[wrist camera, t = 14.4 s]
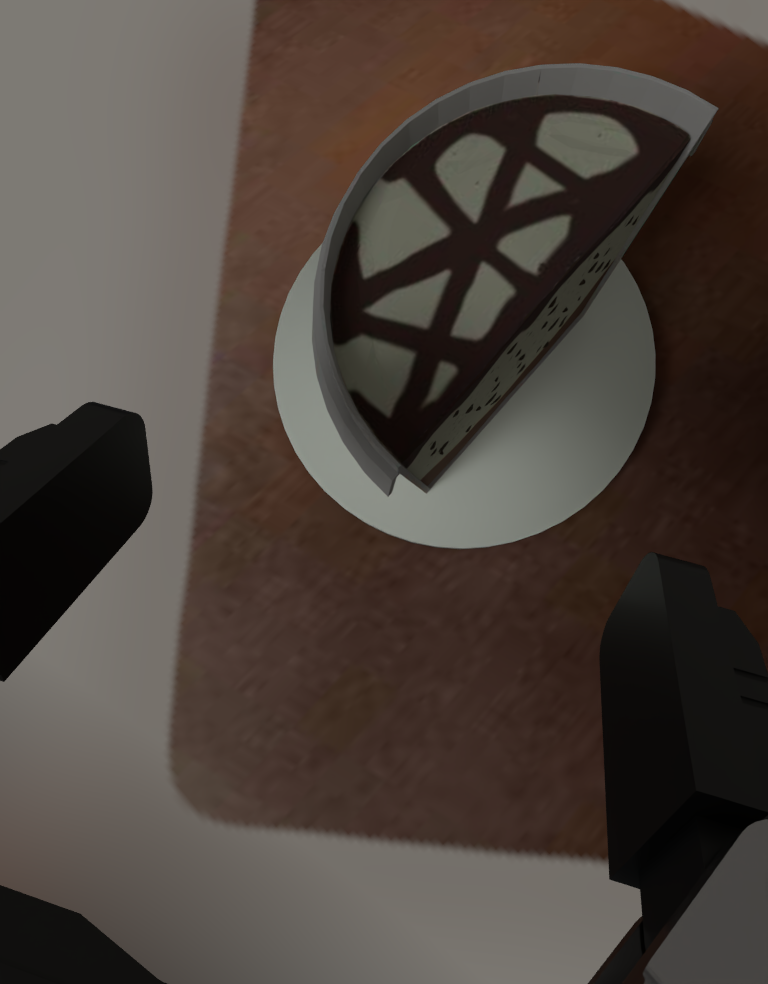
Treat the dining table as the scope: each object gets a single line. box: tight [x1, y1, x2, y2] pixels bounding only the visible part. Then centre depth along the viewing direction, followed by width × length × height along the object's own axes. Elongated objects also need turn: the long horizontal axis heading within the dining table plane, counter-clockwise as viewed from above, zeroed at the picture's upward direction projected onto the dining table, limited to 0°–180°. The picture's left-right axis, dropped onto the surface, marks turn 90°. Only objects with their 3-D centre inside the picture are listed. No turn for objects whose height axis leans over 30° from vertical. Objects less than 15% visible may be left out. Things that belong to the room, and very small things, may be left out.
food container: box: [312, 63, 719, 496], centre depth 19 cm, size 12×6×10 cm, turn 138°
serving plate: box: [273, 243, 656, 549], centre depth 25 cm, size 15×15×1 cm
